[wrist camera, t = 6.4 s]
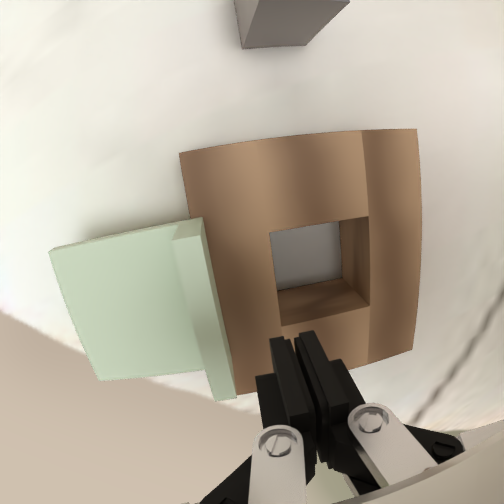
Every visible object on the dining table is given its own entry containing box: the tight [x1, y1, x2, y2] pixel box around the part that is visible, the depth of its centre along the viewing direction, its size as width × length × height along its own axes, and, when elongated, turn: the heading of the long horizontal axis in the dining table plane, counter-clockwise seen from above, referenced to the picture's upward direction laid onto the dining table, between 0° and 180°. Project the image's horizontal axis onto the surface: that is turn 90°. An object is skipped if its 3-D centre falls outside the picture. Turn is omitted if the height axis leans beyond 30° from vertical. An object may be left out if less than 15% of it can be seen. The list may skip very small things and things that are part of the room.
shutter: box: [48, 217, 237, 401], centre depth 16 cm, size 9×9×4 cm
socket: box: [179, 129, 422, 395], centre depth 21 cm, size 14×16×5 cm
